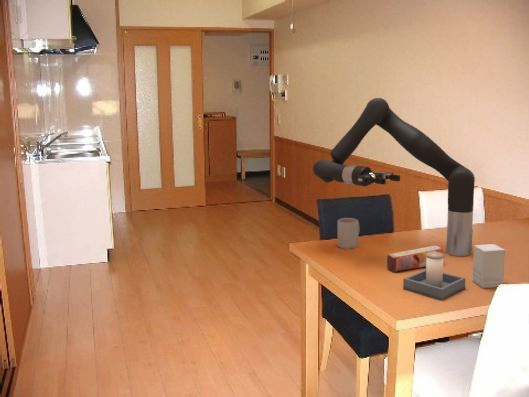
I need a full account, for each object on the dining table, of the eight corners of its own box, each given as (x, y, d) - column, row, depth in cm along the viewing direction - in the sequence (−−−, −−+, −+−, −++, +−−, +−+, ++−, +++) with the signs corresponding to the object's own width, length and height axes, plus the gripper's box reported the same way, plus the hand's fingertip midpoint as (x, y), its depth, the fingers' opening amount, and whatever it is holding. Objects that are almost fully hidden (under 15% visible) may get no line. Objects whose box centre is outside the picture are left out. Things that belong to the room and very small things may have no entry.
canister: (431, 282, 182) (432, 250, 179) (445, 286, 178) (446, 253, 176) (422, 286, 178) (423, 254, 176) (436, 290, 175) (437, 257, 172)
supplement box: (503, 287, 178) (506, 249, 175) (481, 288, 177) (483, 251, 175) (492, 279, 185) (494, 243, 182) (471, 280, 184) (473, 244, 182)
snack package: (395, 274, 194) (395, 255, 192) (385, 268, 200) (385, 250, 198) (444, 265, 201) (445, 248, 199) (433, 260, 207) (433, 243, 206)
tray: (427, 278, 188) (427, 268, 187) (465, 288, 178) (465, 278, 177) (403, 288, 179) (403, 278, 178) (441, 300, 169) (442, 289, 168)
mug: (350, 250, 222) (350, 223, 220) (333, 246, 228) (333, 220, 226) (366, 243, 231) (367, 218, 229) (350, 240, 237) (350, 215, 234)
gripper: (344, 167, 203) (380, 172, 191) (368, 163, 212) (404, 167, 200) (344, 187, 204) (380, 193, 192) (368, 182, 213) (404, 187, 201)
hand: (392, 179), depth 196 cm, fingers open, 8 cm apart
